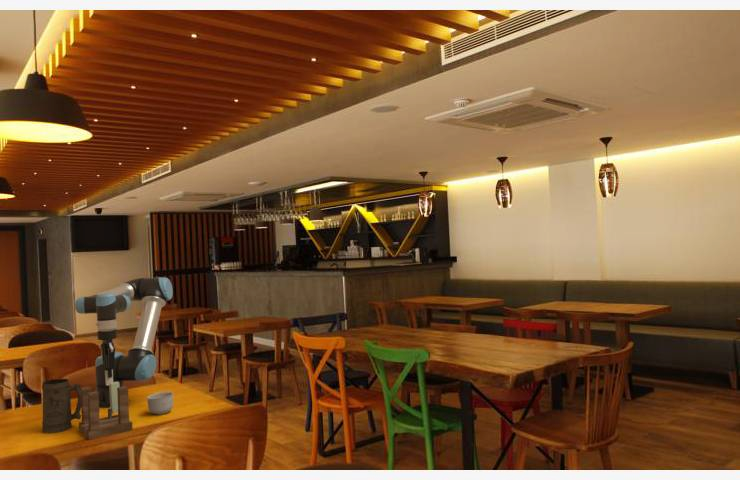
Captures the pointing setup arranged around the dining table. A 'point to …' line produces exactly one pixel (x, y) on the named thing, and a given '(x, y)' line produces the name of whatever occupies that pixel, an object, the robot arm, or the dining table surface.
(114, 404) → the hinged leg
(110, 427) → the wooden stand
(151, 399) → the teacup
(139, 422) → the dining table surface
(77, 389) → the beer stein
